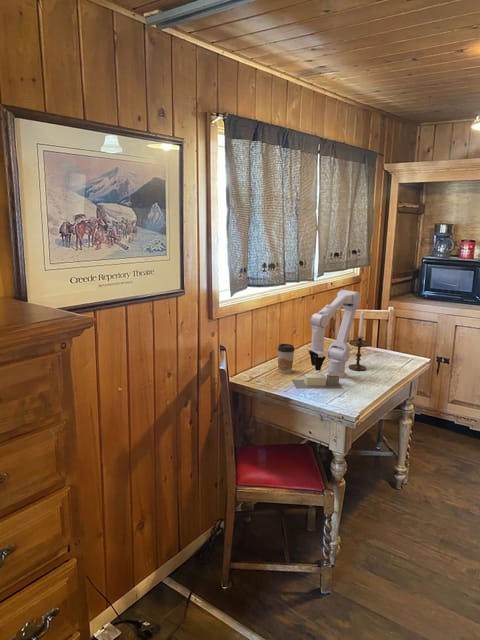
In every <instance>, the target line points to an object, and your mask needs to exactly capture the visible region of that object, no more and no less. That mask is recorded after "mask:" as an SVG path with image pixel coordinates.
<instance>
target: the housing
mask: <svg viewBox="0 0 480 640" xmlns="http://www.w3.org/2000/svg"><path fill="white" fill-rule="evenodd" d="M291 382H292V383H293V385H294V387H295V388H296V389H297V390H298V389H300V390H301V389H303V390H304V389H307V390H310V389H312V390H313V389H316V390H318V389H321V390H322V389H324V390H325V389H327V390H329V389H331V390H332V389H341V390H342V389H344V387H343V386H342V385H341V384H340V378H339V376H329V374H327V375H326V386H306V384H305V383H304V379H291Z"/></svg>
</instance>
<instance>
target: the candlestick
mask: <svg viewBox="0 0 480 640" xmlns="http://www.w3.org/2000/svg"><path fill="white" fill-rule="evenodd" d="M359 316H360V317H359V326H358V336H356V338H357V339H350V340H349V341H348V344H349V345H350V346H354V347H356V348H357V353H356V354H355V356H356V358H355V360H356V363H354V364H349V365H348V369H349V370H351V371H354V372H355V371H356V372H365V371H367V366H365V365H362V364H360V361H361V357H362V354H361V348H367V347H371V342H370V341H367V340H365V339H364V338H365V337H364V336H363V330H364V318H365V312H364V305H363V304H361V311H360V313H359Z"/></svg>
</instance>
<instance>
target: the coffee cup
mask: <svg viewBox="0 0 480 640" xmlns="http://www.w3.org/2000/svg"><path fill="white" fill-rule="evenodd" d="M294 353H295V347H294V345H293V344H289V343H280V344H278V347H277V370H278V373H280V374H283V375H284V374H285V375H286V374H289V375H290V374H291V373H292V372H293V371H292V369H293V361H294V355H295V354H294Z"/></svg>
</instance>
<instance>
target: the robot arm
mask: <svg viewBox="0 0 480 640" xmlns="http://www.w3.org/2000/svg"><path fill="white" fill-rule="evenodd" d="M361 299H362V298H361V294H360V292H359V291H353V290H348V289H347V290H346V289H340V290H339V291H338V292H337V294H336V298H335V299H334V300H333V301H332V302H331V303H330V304H326V305H325V306H324V307H323V308H322V309H320V310H319V311H318V312H316V313H314V314H312V315H311V317H310V319H309V323H310V325H311V327H310V329H311V342H310V343H311V347H309V348H308V350H307V352H308V353H309V356H310V364H311V366H314V369H315V371H316V372H318V371H319V372H320V371H321V370H322V366H323V363H324V361H325V359H326V357H327V358H328V361H329V362H328V365H327V366H328V368H327V373H328V374H329V371H343V372H344V373H345V371H346V363H347V362H348V361H349V359H350V356H351V355H350V353H351V347H350V346H349V345H348V340H349V337H350V333H351V330H352V326H353V322H354V319H355V315H356V312H357V310H358V309H359V306H360V303H361ZM340 307H342V308H343V309H344V311H343V315H342V319H341V324H340V325H339V330H338V333H337V336H336V337H337V338H336V340H334V341H333V342H331V343H330V346H329V348H328V350H327V351H326V355H327V356H325V355H324V352H325V348H324V347H325V346H324V345H325V334H326V333H325V332H326V327H327V326H328V324H329V323H330V319H331V318H332V317H334V316H335V314H336V313H337V312H336V311H337V310H338V309H339V308H340ZM344 377H345V375H344V376H339V379H342V378H344Z"/></svg>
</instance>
